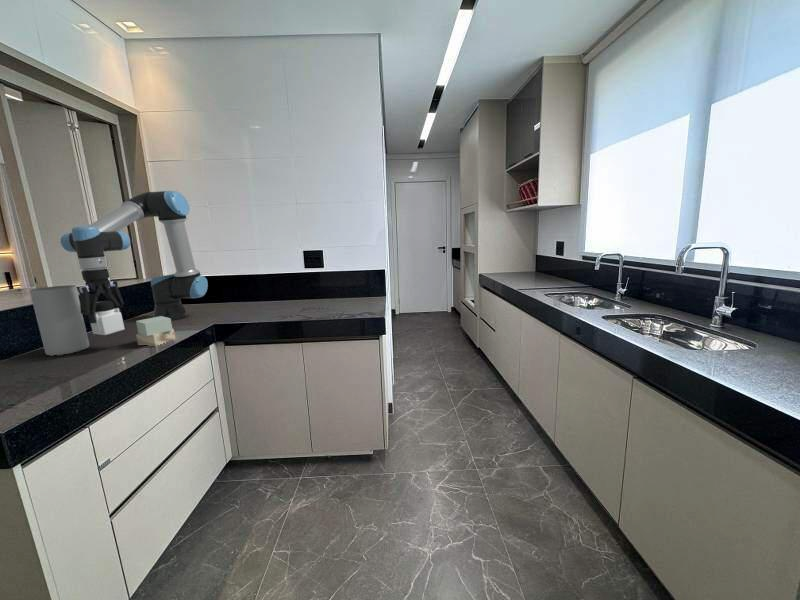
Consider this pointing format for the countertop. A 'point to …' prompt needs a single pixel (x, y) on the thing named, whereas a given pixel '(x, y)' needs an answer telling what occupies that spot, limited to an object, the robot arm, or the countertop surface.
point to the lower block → (155, 338)
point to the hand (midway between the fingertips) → (108, 327)
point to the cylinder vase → (60, 319)
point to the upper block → (154, 325)
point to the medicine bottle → (108, 318)
